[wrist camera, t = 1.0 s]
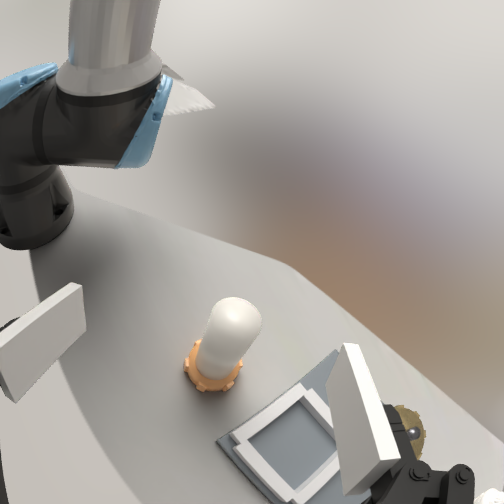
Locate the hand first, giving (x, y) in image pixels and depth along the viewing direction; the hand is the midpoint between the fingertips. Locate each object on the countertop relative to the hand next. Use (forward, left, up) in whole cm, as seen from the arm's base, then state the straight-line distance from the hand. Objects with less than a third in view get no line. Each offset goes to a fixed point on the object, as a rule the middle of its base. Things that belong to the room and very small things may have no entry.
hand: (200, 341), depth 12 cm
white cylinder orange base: (-2, +6, -18) cm, 19 cm away
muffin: (+48, +21, -18) cm, 55 cm away
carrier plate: (+14, +11, -18) cm, 25 cm away
